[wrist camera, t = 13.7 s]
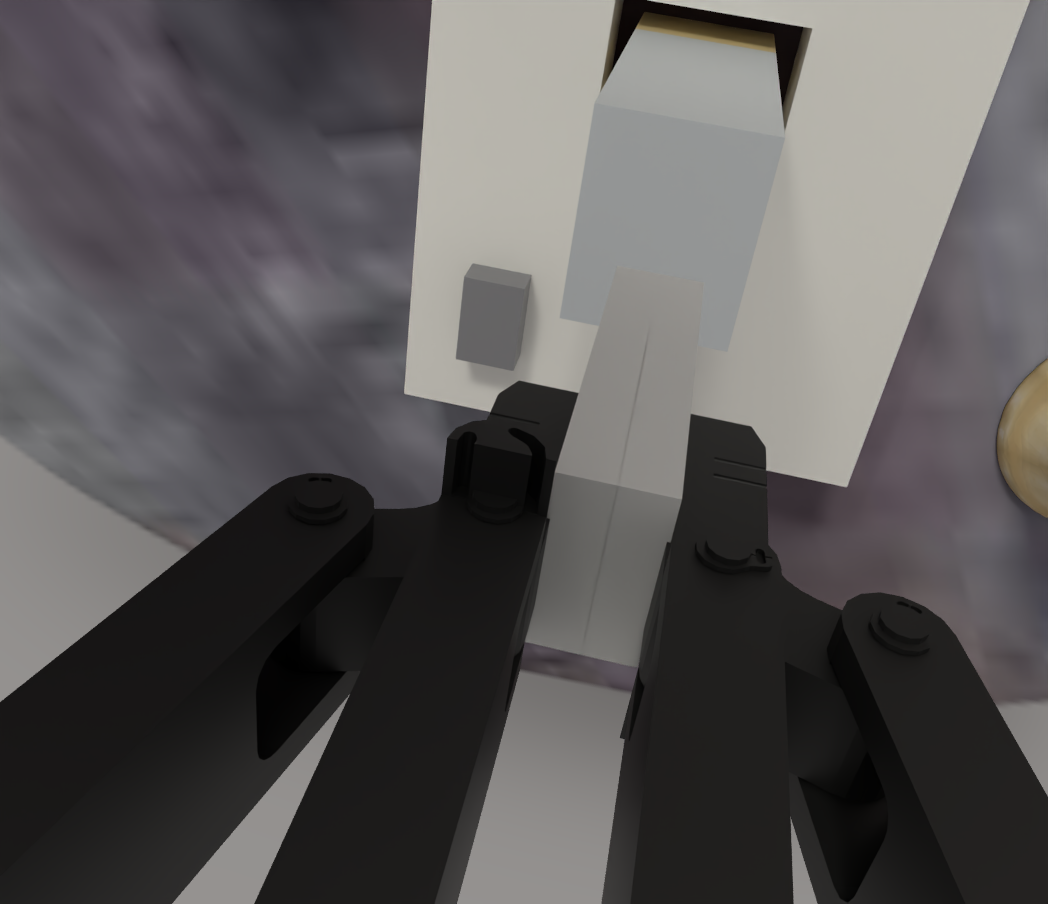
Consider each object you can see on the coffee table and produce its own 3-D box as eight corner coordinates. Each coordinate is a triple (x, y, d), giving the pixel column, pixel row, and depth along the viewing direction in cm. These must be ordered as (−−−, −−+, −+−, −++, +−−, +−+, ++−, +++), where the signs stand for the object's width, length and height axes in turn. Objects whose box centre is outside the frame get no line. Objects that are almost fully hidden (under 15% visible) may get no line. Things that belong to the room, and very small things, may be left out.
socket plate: (487, -368, 27) (447, -395, 23) (1101, -281, 25) (1157, -297, 22) (426, 356, 39) (394, 409, 35) (840, 442, 37) (849, 506, 34)
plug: (644, 11, 31) (594, 103, 21) (773, 33, 31) (785, 137, 21) (616, 170, 34) (559, 317, 24) (734, 192, 33) (727, 351, 23)
